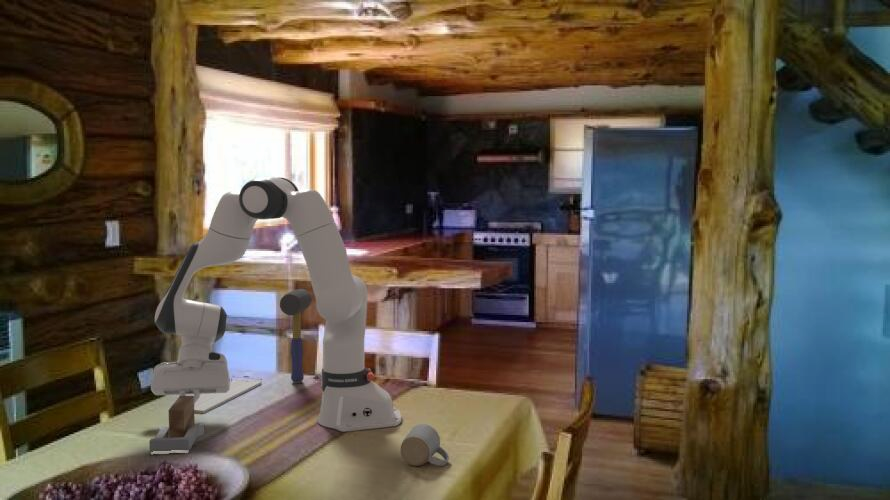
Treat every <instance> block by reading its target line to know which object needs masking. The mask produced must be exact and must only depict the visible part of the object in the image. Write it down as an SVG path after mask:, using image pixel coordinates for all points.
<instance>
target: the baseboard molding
mask: <svg viewBox="0 0 890 500" xmlns="http://www.w3.org/2000/svg"><path fill="white" fill-rule="evenodd" d="M233 378H235V376H234V375H232V378H230V390H229V391H228V392H227V393H208V394H200V397H199V399H198V400H197V401H196V402H195V405H194V414H205V413H207V412H210V411H211V410H213V409H215V408H217V407H220V406H221V405H223V404H225V403H227V402H230V401H231V400H234V399H235V398H237V397H239V396H241V395H244V394H245V393H247V392H249V391H251V390H253V389H255V388H257V387H259V386H261V385H262V378H260V380H261V381H257V380H254V378H252V377H251V378H250V376H249V375H245V376H243V377H241V376H239V378H241V379H238V378H237V379H235V380H233ZM243 378H246V379H253V380H244V379H243Z"/></svg>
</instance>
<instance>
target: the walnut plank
mask: <svg viewBox="0 0 890 500" xmlns="http://www.w3.org/2000/svg"><path fill="white" fill-rule="evenodd" d="M195 420H196V419H195V413H194V395H186V396H180V395H179V397H177V399H176V400H175V401H174V403H173V404H172V405H171V407H170V408H169V409H168V436H169V438H176V437H184V436H185V434H186V433H187V431H188V430H189V429H190V428H192V427H194V426H196V424H195V422H196V421H195Z"/></svg>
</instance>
